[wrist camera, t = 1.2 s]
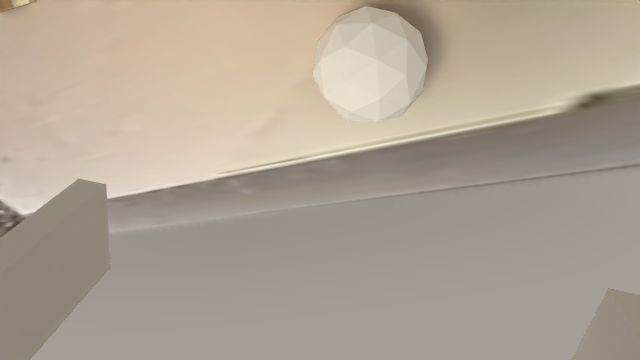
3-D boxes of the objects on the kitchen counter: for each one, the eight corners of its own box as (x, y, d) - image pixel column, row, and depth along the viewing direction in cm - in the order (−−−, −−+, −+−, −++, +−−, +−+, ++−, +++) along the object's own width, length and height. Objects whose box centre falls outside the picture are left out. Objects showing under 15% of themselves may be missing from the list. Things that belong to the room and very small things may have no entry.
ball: (375, 74, 41) (343, 153, 38) (316, 0, 37) (273, 82, 33) (459, 52, 36) (431, 142, 33) (403, -38, 32) (362, 55, 28)
